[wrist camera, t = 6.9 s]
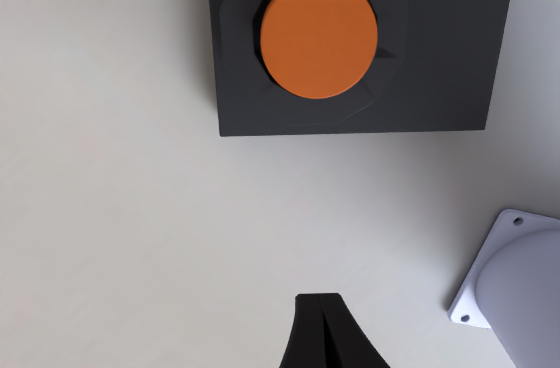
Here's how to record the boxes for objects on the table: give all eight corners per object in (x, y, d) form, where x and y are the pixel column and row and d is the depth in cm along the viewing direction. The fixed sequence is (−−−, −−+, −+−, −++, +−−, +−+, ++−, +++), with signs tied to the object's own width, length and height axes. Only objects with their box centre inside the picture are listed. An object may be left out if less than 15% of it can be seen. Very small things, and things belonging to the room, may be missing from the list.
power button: (370, -26, 16) (382, -25, 14) (363, 86, 18) (373, 98, 16) (258, -24, 16) (258, -23, 14) (262, 88, 18) (262, 100, 16)
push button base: (502, -97, 18) (560, -113, 15) (465, 116, 22) (504, 144, 19) (208, -93, 18) (193, -108, 14) (223, 121, 22) (215, 152, 18)
